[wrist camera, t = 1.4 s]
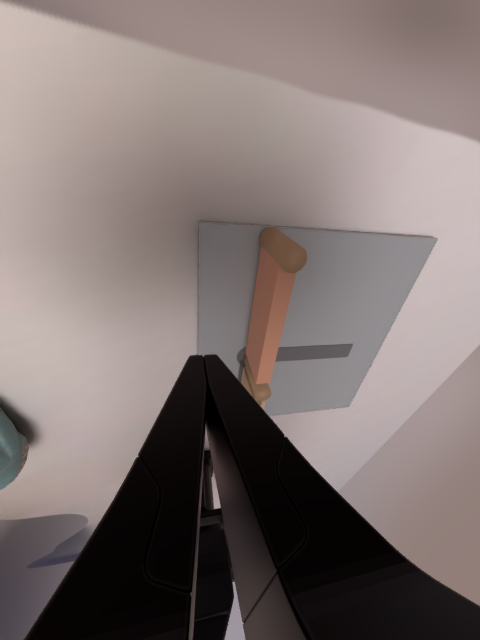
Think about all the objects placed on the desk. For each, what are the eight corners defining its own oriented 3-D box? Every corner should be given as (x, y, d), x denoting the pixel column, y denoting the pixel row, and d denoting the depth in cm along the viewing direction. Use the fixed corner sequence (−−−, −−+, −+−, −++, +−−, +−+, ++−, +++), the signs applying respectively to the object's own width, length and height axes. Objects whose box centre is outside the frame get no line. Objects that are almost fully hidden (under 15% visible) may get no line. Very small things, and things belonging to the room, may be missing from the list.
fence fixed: (245, 423, 29) (255, 462, 25) (232, 425, 29) (240, 464, 25) (256, 365, 24) (270, 403, 20) (241, 366, 24) (252, 404, 20)
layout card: (346, 403, 33) (349, 407, 32) (196, 419, 28) (197, 425, 28) (432, 236, 21) (438, 238, 20) (198, 220, 16) (199, 223, 16)
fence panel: (257, 362, 24) (271, 399, 20) (241, 364, 23) (252, 401, 20) (282, 227, 17) (310, 246, 13) (261, 226, 17) (283, 244, 13)
